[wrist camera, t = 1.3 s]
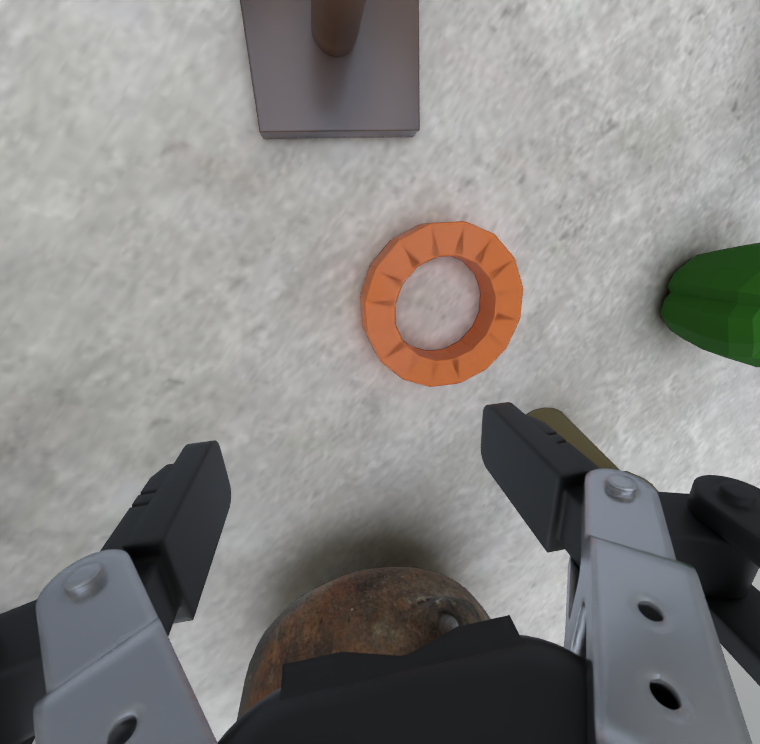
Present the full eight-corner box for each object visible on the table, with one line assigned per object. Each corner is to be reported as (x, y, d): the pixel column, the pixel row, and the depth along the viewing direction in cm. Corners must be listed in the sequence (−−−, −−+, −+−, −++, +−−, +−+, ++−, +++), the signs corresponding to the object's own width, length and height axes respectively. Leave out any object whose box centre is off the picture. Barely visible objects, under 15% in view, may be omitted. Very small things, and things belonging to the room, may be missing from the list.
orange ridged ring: (365, 381, 27) (370, 394, 25) (355, 227, 23) (359, 226, 21) (499, 365, 29) (514, 376, 27) (510, 219, 25) (530, 217, 22)
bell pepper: (623, 310, 29) (768, 344, 20) (697, 219, 27) (893, 211, 18) (678, 358, 32) (827, 408, 23) (747, 279, 30) (939, 298, 21)
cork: (539, 396, 30) (651, 475, 20) (581, 426, 33) (702, 512, 22) (495, 448, 32) (580, 548, 22) (538, 474, 34) (635, 576, 24)
